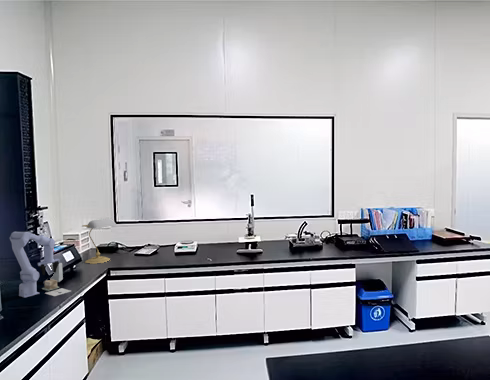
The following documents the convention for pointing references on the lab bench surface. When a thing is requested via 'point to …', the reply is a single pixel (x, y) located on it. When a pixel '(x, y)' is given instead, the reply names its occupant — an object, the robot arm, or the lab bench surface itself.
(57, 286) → the sage pad
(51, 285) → the beech block
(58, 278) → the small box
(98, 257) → the desk lamp
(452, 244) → the lab bench surface
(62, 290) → the card
